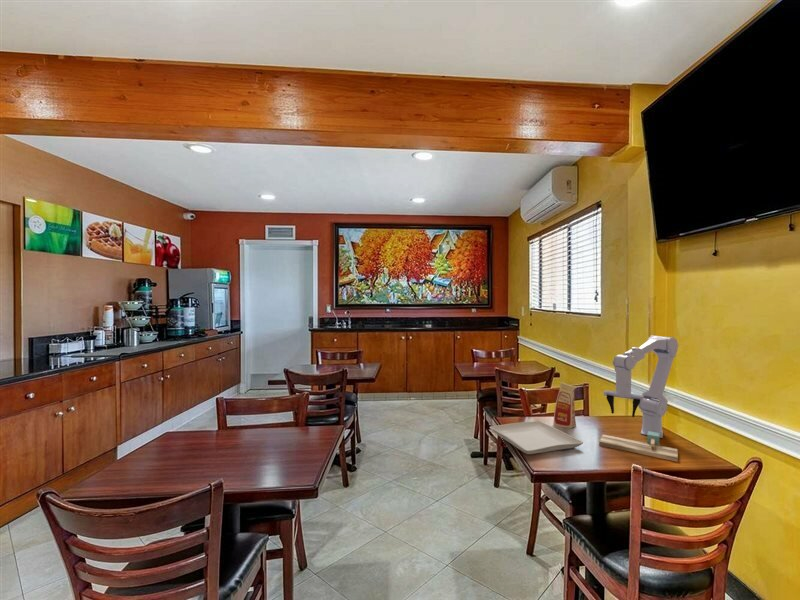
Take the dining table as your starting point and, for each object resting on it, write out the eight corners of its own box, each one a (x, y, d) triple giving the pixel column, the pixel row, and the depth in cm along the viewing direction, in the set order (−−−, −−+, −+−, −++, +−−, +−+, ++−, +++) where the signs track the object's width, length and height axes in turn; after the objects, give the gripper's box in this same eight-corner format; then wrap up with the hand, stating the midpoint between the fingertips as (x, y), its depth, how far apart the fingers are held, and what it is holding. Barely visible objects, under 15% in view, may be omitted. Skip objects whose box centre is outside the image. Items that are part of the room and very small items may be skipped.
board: (602, 437, 164) (602, 434, 164) (677, 452, 149) (677, 448, 149) (599, 445, 156) (599, 441, 156) (677, 461, 141) (677, 457, 141)
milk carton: (553, 425, 180) (553, 383, 180) (557, 419, 187) (558, 379, 187) (574, 429, 175) (574, 385, 174) (577, 423, 182) (578, 382, 182)
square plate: (488, 434, 168) (488, 425, 168) (539, 428, 177) (539, 419, 176) (526, 459, 142) (526, 449, 142) (584, 450, 151) (584, 441, 151)
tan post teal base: (647, 442, 159) (647, 430, 159) (659, 445, 157) (659, 433, 157) (646, 452, 149) (646, 439, 149) (658, 454, 147) (658, 442, 147)
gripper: (603, 382, 164) (602, 413, 164) (642, 387, 155) (642, 420, 155) (605, 379, 169) (604, 409, 170) (643, 384, 161) (643, 416, 161)
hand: (622, 414), depth 163 cm, fingers open, 7 cm apart
